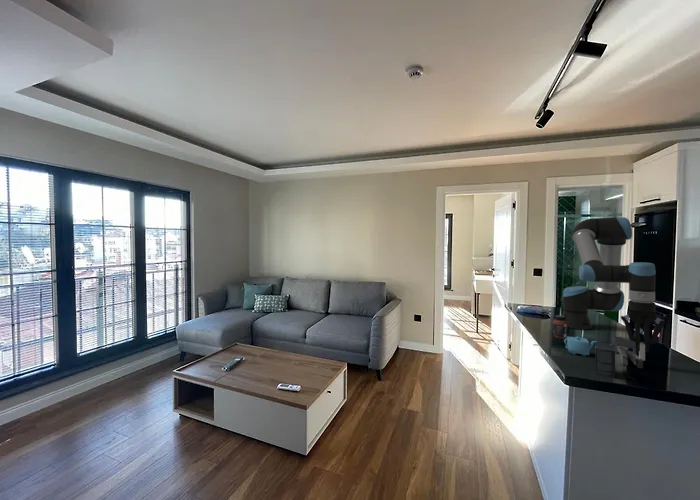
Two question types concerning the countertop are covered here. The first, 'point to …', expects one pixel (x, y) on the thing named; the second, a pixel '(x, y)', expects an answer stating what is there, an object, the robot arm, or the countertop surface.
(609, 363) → the box
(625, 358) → the tongs fixed
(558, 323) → the supplement bottle
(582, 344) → the blue teapot
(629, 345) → the collar
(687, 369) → the countertop surface
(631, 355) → the tongs jaw
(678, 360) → the countertop surface
